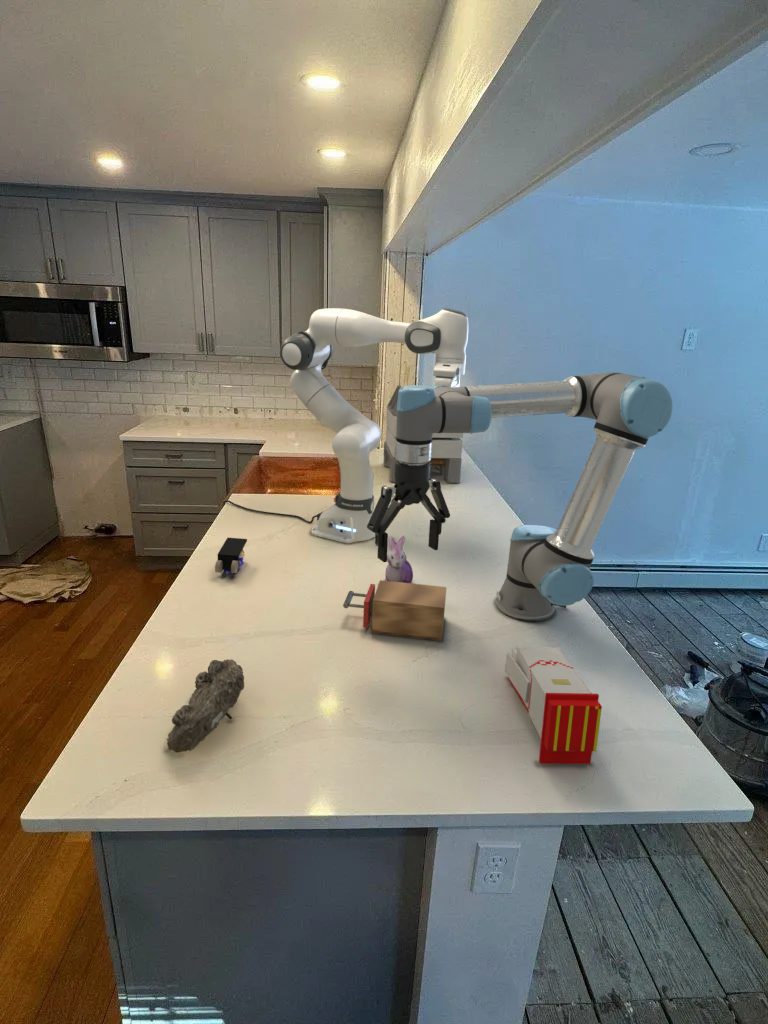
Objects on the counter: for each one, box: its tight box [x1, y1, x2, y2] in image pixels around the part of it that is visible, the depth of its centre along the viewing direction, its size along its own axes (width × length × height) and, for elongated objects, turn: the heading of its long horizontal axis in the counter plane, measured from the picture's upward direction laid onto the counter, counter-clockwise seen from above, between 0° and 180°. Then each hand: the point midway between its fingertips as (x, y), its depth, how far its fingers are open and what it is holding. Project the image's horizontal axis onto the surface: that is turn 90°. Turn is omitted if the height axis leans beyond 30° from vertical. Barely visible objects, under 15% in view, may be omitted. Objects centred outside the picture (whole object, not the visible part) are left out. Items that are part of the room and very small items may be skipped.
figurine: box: [384, 535, 414, 584], centre depth 160 cm, size 9×10×15 cm
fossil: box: [166, 658, 245, 754], centre depth 106 cm, size 22×10×15 cm
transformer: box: [383, 384, 464, 484], centre depth 268 cm, size 34×33×41 cm
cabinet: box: [371, 579, 448, 642], centre depth 141 cm, size 17×11×9 cm, turn 82°
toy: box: [504, 646, 603, 765], centre depth 112 cm, size 12×13×30 cm
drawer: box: [342, 583, 376, 628], centre depth 142 cm, size 21×10×7 cm, turn 82°
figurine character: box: [214, 537, 248, 578], centre depth 166 cm, size 7×8×15 cm
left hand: (446, 415), depth 170 cm, fingers open, 8 cm apart
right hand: (408, 553), depth 126 cm, fingers open, 13 cm apart
